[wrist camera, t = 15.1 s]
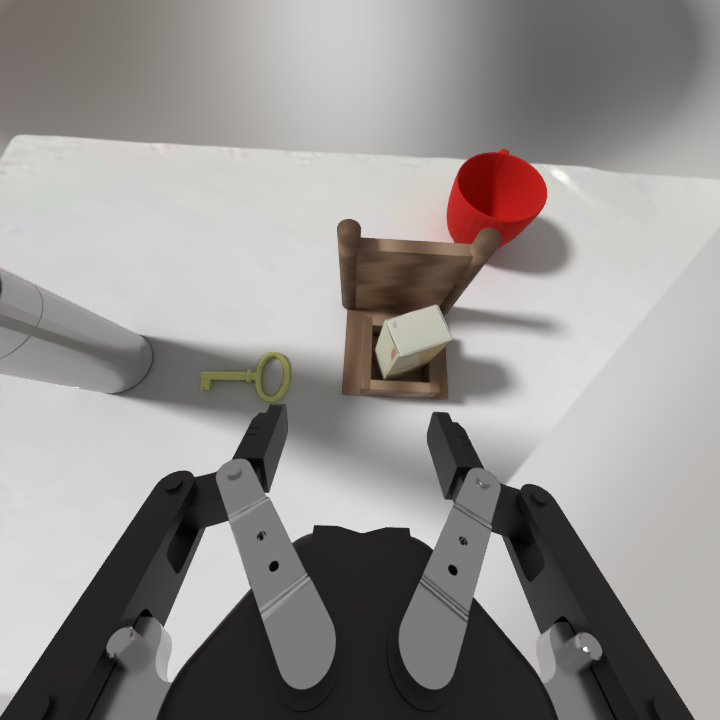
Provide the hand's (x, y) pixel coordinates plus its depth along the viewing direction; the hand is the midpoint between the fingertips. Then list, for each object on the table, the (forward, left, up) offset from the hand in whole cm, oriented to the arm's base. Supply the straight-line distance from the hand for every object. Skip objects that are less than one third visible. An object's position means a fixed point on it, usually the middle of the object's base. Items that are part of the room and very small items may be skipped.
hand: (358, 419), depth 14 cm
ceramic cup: (+20, +36, -23) cm, 47 cm away
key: (-15, +7, -23) cm, 29 cm away
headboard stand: (+6, +13, -23) cm, 27 cm away
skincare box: (+6, +10, -22) cm, 25 cm away
